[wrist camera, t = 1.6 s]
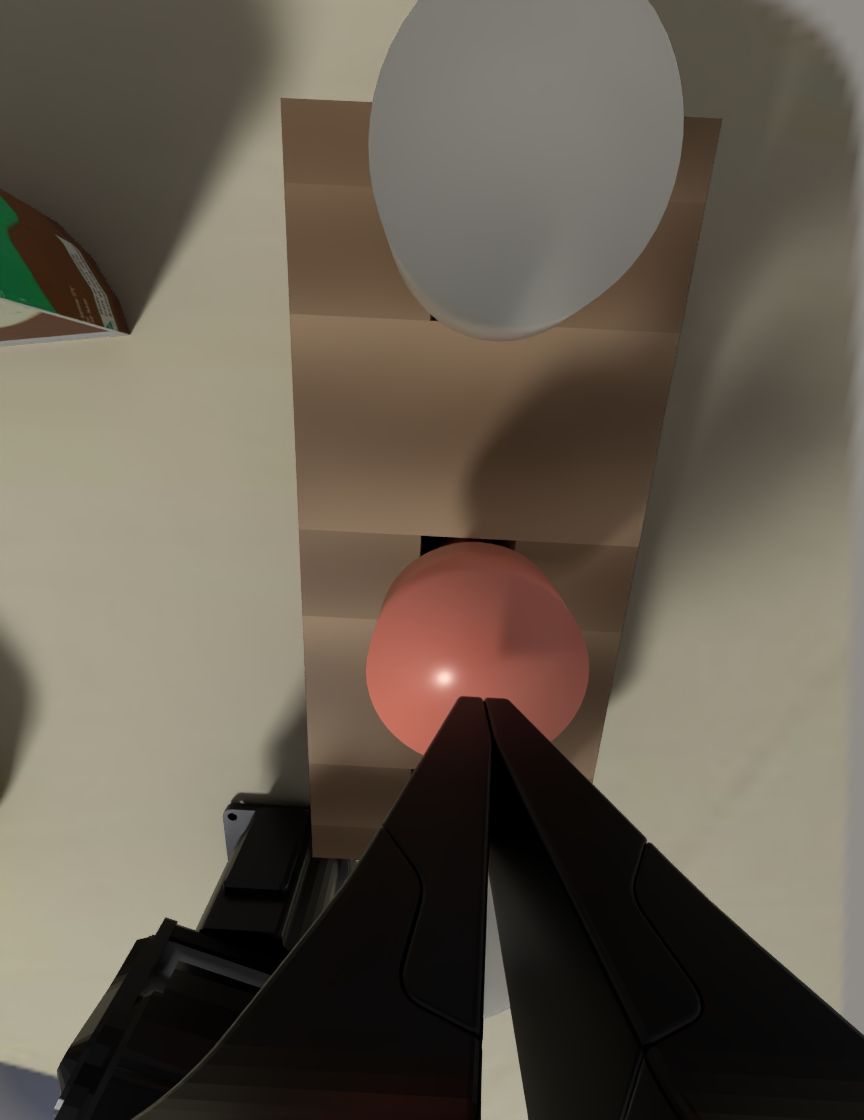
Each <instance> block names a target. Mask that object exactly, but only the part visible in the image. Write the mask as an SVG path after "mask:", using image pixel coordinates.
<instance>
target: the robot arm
mask: <svg viewBox="0 0 864 1120" xmlns="http://www.w3.org/2000/svg"><path fill="white" fill-rule="evenodd" d="M233 813H234V814H233ZM223 822H224V830H225V838H226V847H227V855H228V862H227V864H226V867H225V869H224V871H223V873H222V875H221V877H220V879H219V881H218V884H217V886H216V888H215V890H214V892H213V894H212V896H211V898H210V901H209V903H208V905H207V907H206V909H205V911H204V913H203V915H202V917H201V920H200V922H199V924H198V926H197V928H196V930H192V929H189V928H186V927H184V926H181V925H178V924H177V922H178V921H175V920H172V919H169V918H165V919H164V921H163V923H162V924H161V926H160V928H159V930H158V931H157V933H156V935H152V936H149V937H147V938H143V939H139V940H137V941H136V942H135V944H134V946H133V948H132V949H131V951H130V953H129V955H128V956H127V958H126V960H125V962H124V963H123V965H122V967H121V969H120V970H119V972H118V974H117V975H116V977H115V979H114V981H113V982H112V984H111V985H110V987H109V989H108V990H107V992H106V993H105V995H104V996H103V998H102V999H101V1001H100V1002H99V1004H98V1005H97V1007H96V1008H95V1010H94V1011H93V1013H92V1014H91V1016H90V1017H89V1019H88V1020H87V1022H86V1023H85V1025H84V1026H83V1028H82V1029H81V1031H80V1032H79V1034H78V1035H77V1037H76V1038H75V1040H74V1041H73V1043H72V1044H71V1046H70V1047H69V1049H68V1051H67V1052H66V1054H65V1056H64V1058H63V1059H62V1061H61V1063H60V1065H59V1067H58V1069H57V1076H58V1085H59V1095H60V1098H59V1100H58V1102H57V1104H56V1106H55V1108H54V1111H53V1113H52V1115H54V1116H56V1118H55V1120H481V1076H482V1040H483V1015H484V986H485V957H486V928H487V899H488V873H489V879H490V885H491V892H492V898H493V904H494V910H495V916H496V922H497V929H498V935H499V941H500V947H501V953H502V959H503V965H504V972H505V978H506V984H507V990H508V996H509V1002H510V1009H511V1015H512V1021H513V1027H514V1033H515V1039H516V1045H517V1052H518V1058H519V1064H520V1070H521V1076H522V1082H523V1089H524V1095H525V1101H526V1107H527V1113H528V1119H529V1120H864V1035H863V1034H862V1033H860V1031H858V1030H857V1029H856V1028H855V1027H854V1026H853V1025H851V1024H850V1023H849V1022H848V1021H847V1020H846V1019H845V1018H843V1017H842V1016H841V1015H840V1014H839V1013H838V1012H836V1011H835V1010H834V1009H833V1008H832V1007H831V1006H830V1005H828V1004H827V1003H826V1002H825V1001H824V1000H823V999H822V998H820V997H819V996H818V995H817V994H816V993H815V992H813V991H812V990H811V989H810V988H809V987H808V986H807V985H805V984H804V983H803V982H802V981H801V980H800V979H798V978H797V977H796V976H795V975H794V974H793V973H792V972H790V971H789V970H788V969H787V968H786V967H785V966H784V965H782V964H781V963H780V962H779V961H778V960H777V959H775V958H774V957H773V956H772V955H771V954H770V953H769V952H767V951H766V950H765V949H764V948H763V947H762V946H760V945H759V944H758V943H757V942H756V941H755V940H754V939H753V938H751V937H750V936H749V935H748V934H747V933H746V932H745V931H744V930H743V929H741V928H740V927H739V926H738V925H737V924H736V923H735V922H734V921H733V920H731V919H730V918H729V917H728V916H727V915H726V914H725V913H724V912H722V911H721V910H720V909H719V908H718V907H717V906H716V905H715V904H714V903H712V902H711V901H710V900H709V899H708V898H707V897H706V896H705V895H704V894H703V893H702V892H701V891H700V890H699V889H698V888H697V887H696V886H695V885H694V884H693V883H692V882H691V881H689V880H688V879H687V878H686V877H685V876H684V875H683V874H682V873H681V872H680V871H679V870H678V869H677V868H676V867H675V866H674V865H673V864H672V863H671V862H670V861H669V860H668V859H667V858H666V857H665V856H664V855H663V854H662V853H661V852H660V851H659V850H658V849H657V848H656V847H655V846H654V845H653V844H652V843H647V839H646V837H645V836H644V835H643V834H642V833H641V832H640V831H639V830H638V829H637V828H636V827H635V826H634V825H633V824H632V823H631V822H630V821H629V820H628V819H627V818H626V817H625V816H624V815H623V814H622V813H621V812H620V811H619V810H618V809H617V808H616V807H615V806H614V805H613V804H612V803H611V802H610V801H609V800H608V799H607V798H606V797H605V796H604V795H603V794H602V793H601V792H600V791H599V790H598V789H597V788H596V787H595V786H594V785H593V784H592V783H591V782H590V781H589V780H588V779H587V778H586V777H585V776H584V775H583V774H582V773H581V772H580V771H579V770H578V769H577V768H576V767H575V766H574V765H573V764H572V763H571V762H570V761H569V760H568V759H567V758H566V757H565V756H564V755H563V754H562V753H561V752H560V751H559V750H558V749H557V748H556V747H555V746H554V745H553V744H552V743H551V742H550V741H549V740H548V739H547V738H546V737H545V736H544V735H543V734H542V733H541V732H540V731H539V730H538V729H537V728H536V727H535V726H534V725H533V724H532V723H531V722H530V721H529V720H528V718H527V717H526V716H525V715H524V714H523V713H522V712H521V711H520V710H519V709H518V708H517V707H516V706H515V705H514V704H513V703H512V702H511V701H509V700H508V699H506V698H490V697H488V698H485V699H484V701H483V699H482V698H481V697H471V696H460V697H459V698H458V699H457V700H456V702H455V704H454V705H453V707H452V709H451V710H450V712H449V714H448V715H447V717H446V719H445V720H444V722H443V724H442V725H441V727H440V729H439V730H438V732H437V734H436V735H435V737H434V738H433V740H432V742H431V743H430V745H429V747H428V748H427V750H426V752H425V753H424V755H423V757H422V758H421V760H420V762H419V763H418V765H417V767H416V768H415V770H414V771H413V773H412V775H411V776H410V778H409V780H408V781H407V783H406V785H405V786H404V788H403V790H402V791H401V793H400V795H399V796H398V798H397V800H396V801H395V803H394V804H393V806H392V808H391V809H390V811H389V813H388V814H387V816H386V818H385V819H384V821H383V823H382V825H381V828H379V829H378V830H377V832H376V834H375V835H374V837H373V839H372V840H371V842H370V844H369V845H368V847H367V849H366V850H365V852H364V853H363V855H362V856H361V858H360V859H359V861H358V862H357V864H356V865H355V867H354V868H353V870H352V871H351V873H350V864H349V859H337V858H320V857H313V852H312V828H311V807H293V806H275V805H258V804H240V803H232V804H230V805H228V806H227V808H226V810H225V811H224V813H223ZM646 843H647V844H646Z"/></svg>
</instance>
